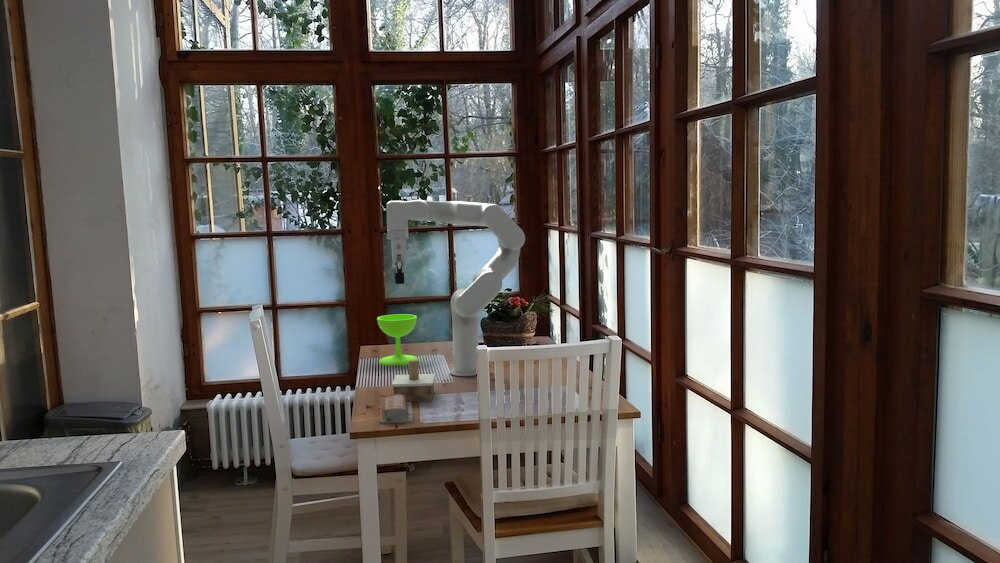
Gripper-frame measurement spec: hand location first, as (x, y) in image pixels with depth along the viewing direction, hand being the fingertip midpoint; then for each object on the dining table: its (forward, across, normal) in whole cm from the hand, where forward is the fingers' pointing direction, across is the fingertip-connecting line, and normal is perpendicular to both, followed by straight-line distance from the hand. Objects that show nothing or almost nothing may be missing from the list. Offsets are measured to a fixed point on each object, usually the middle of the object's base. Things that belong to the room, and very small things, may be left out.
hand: (399, 282), depth 279 cm
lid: (+29, -32, -3) cm, 44 cm away
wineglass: (+35, +29, +1) cm, 46 cm away
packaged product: (+36, -48, +3) cm, 60 cm away
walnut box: (+35, -32, -3) cm, 48 cm away
